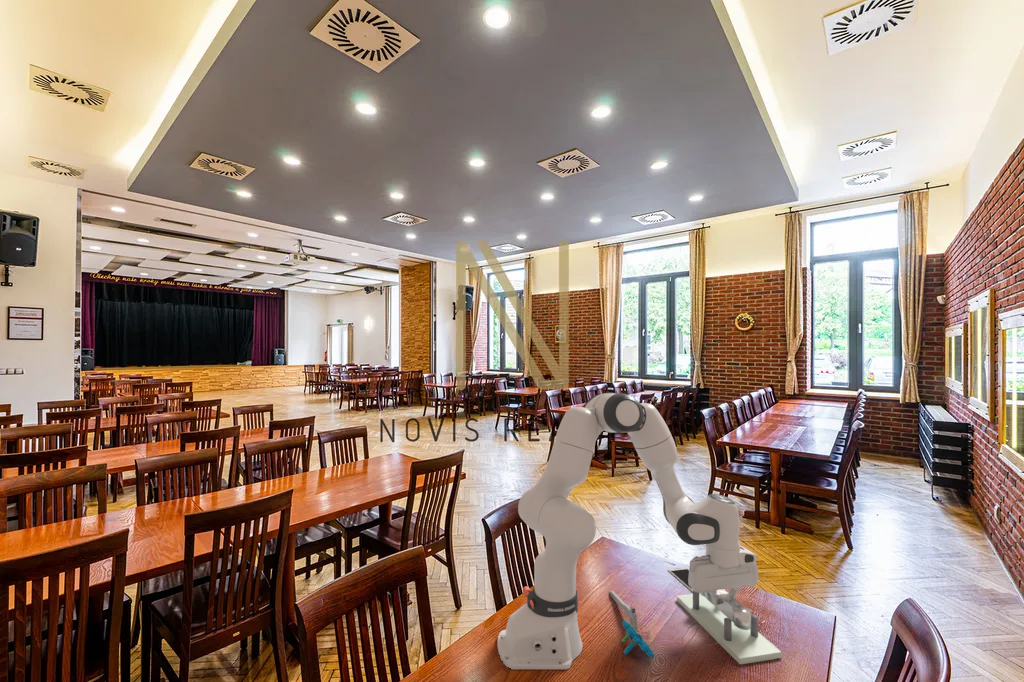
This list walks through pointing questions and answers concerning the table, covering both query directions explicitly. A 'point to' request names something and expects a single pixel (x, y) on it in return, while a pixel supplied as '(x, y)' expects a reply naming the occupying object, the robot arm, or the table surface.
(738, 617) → the grey dumbbell
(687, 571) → the smartphone
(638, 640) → the gear
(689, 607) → the board
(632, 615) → the caliper
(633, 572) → the table surface
